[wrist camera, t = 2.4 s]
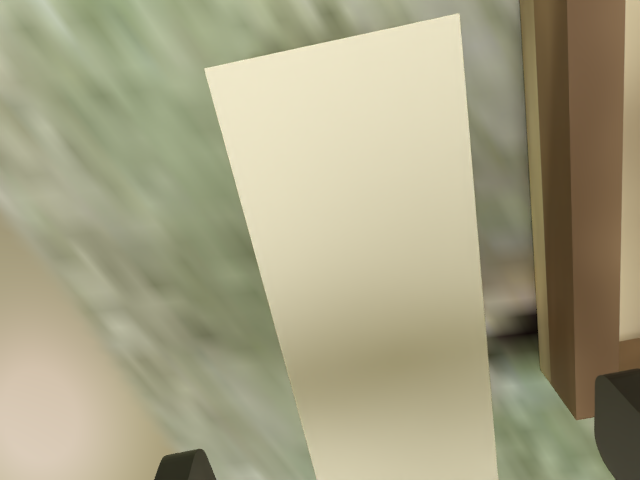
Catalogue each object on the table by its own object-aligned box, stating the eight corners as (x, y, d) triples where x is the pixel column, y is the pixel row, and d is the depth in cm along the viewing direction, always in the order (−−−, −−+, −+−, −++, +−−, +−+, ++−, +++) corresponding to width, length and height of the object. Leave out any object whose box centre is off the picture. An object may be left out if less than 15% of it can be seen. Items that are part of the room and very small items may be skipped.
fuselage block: (397, 28, 16) (459, 13, 9) (446, 411, 21) (505, 569, 15) (248, 60, 16) (204, 68, 9) (336, 430, 22) (348, 592, 15)
